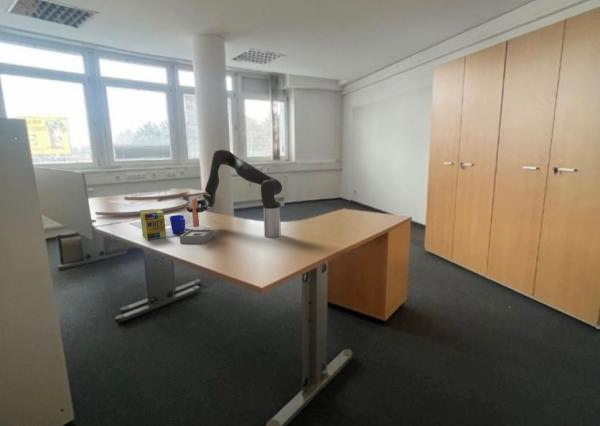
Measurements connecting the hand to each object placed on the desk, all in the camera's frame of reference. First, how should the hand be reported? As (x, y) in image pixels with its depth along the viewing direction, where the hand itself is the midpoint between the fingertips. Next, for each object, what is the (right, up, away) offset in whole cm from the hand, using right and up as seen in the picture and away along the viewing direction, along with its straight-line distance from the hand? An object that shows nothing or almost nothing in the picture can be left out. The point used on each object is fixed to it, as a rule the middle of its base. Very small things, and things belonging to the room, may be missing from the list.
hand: (193, 210), depth 173 cm
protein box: (-29, -16, +14) cm, 36 cm away
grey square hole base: (0, -16, +6) cm, 18 cm away
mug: (-16, -14, +23) cm, 31 cm away
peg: (0, -9, +5) cm, 10 cm away
